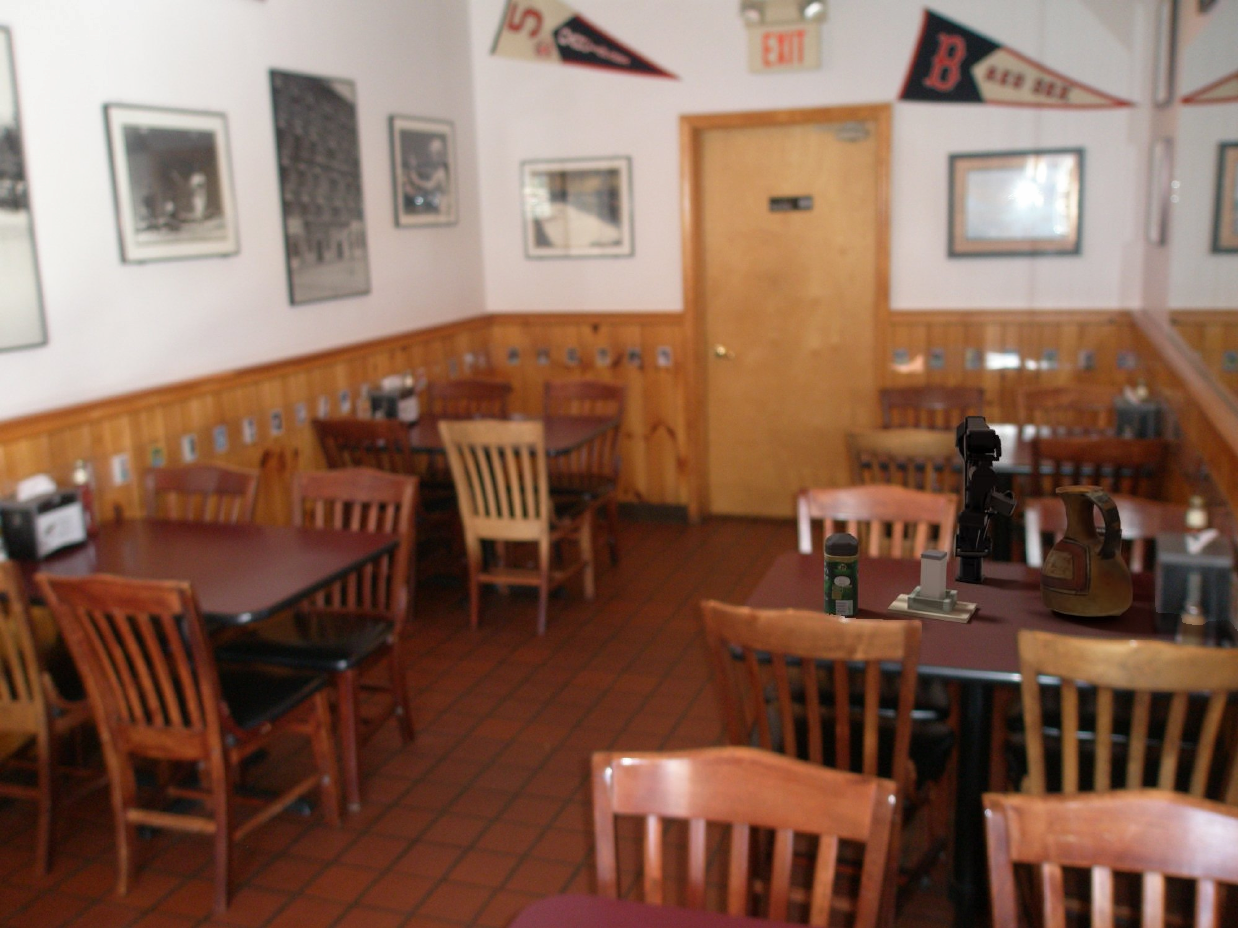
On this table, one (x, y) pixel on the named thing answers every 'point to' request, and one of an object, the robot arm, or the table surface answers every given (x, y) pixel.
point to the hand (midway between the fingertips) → (977, 545)
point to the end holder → (933, 607)
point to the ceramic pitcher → (1087, 559)
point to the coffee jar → (841, 574)
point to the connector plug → (933, 574)
